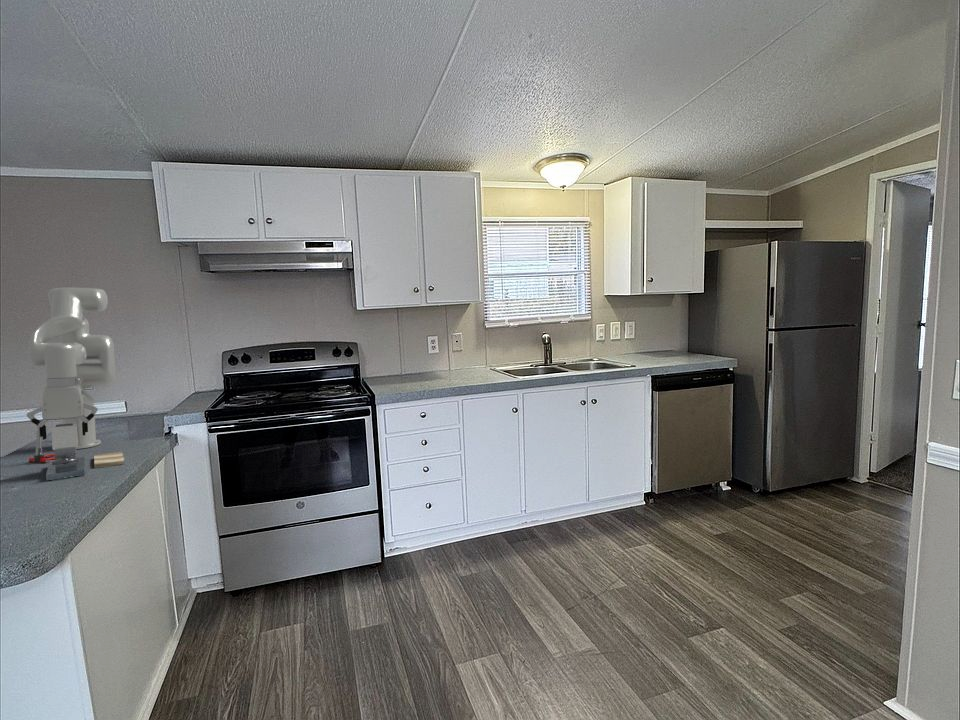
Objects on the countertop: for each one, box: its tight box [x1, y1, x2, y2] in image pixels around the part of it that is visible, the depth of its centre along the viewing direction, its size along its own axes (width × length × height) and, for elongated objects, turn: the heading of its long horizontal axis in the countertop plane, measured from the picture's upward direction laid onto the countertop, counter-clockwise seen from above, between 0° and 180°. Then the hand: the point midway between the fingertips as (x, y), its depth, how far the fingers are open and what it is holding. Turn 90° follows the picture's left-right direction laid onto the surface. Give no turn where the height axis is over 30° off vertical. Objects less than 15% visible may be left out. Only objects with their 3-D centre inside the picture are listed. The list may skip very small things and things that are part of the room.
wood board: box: [93, 451, 126, 469], centre depth 171 cm, size 14×8×1 cm, turn 38°
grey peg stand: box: [45, 447, 86, 482], centre depth 159 cm, size 18×9×14 cm, turn 38°
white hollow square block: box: [50, 422, 78, 451], centre depth 159 cm, size 6×6×7 cm
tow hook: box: [28, 425, 55, 463], centre depth 173 cm, size 8×13×9 cm
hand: (64, 436), depth 158 cm, fingers open, 9 cm apart
